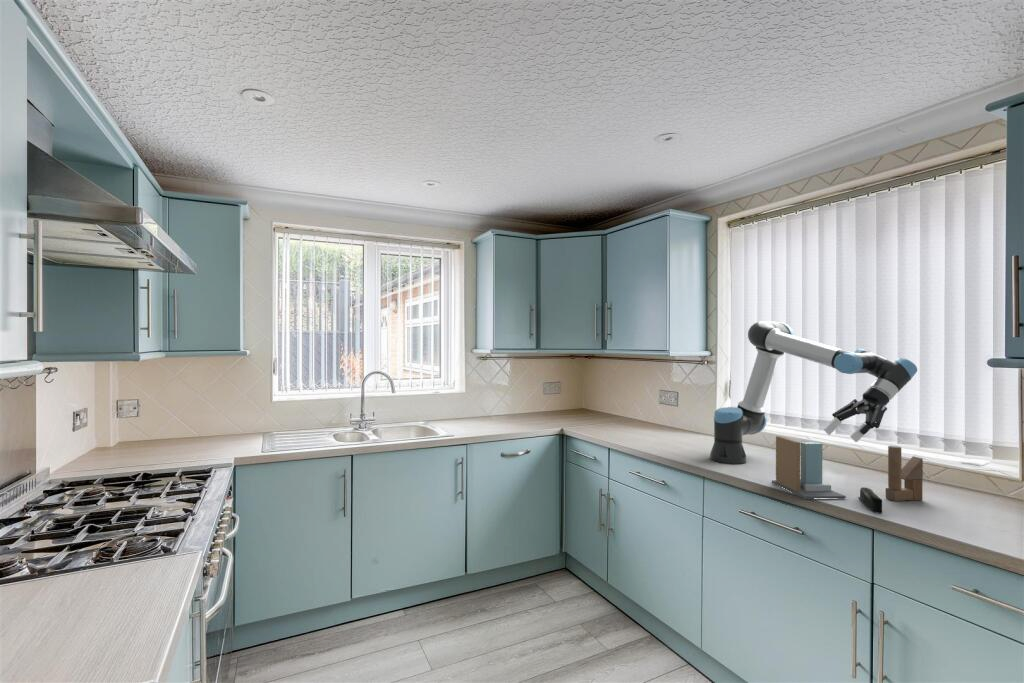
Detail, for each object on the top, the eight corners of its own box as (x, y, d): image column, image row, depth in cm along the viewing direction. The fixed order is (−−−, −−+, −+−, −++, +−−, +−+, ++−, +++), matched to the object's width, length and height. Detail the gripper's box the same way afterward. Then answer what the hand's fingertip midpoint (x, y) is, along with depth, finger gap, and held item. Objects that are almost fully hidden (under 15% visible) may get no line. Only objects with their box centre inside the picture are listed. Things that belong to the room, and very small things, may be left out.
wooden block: (923, 500, 166) (923, 447, 166) (894, 501, 165) (894, 447, 165) (912, 497, 170) (912, 444, 170) (884, 498, 169) (884, 445, 169)
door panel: (800, 486, 178) (800, 442, 179) (816, 486, 179) (816, 442, 179) (806, 489, 175) (806, 443, 176) (822, 488, 176) (822, 443, 176)
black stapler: (884, 498, 153) (866, 484, 167) (873, 497, 154) (855, 483, 168) (884, 514, 153) (865, 499, 167) (872, 513, 154) (855, 498, 168)
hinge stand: (771, 483, 187) (771, 435, 187) (807, 482, 187) (807, 435, 188) (805, 499, 167) (805, 446, 167) (845, 499, 167) (845, 445, 168)
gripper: (916, 405, 166) (873, 450, 165) (860, 397, 191) (823, 436, 190) (901, 389, 166) (858, 434, 165) (847, 383, 191) (809, 422, 190)
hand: (839, 435), depth 178 cm, fingers open, 13 cm apart
